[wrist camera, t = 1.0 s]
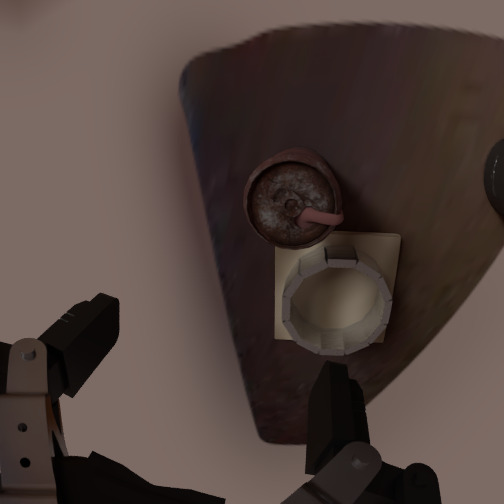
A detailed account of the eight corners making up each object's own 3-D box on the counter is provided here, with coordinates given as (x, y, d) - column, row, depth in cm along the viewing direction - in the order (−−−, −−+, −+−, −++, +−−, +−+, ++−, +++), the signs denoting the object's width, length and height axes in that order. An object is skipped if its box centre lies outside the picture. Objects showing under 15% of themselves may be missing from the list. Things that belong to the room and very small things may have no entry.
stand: (398, 233, 32) (400, 237, 31) (381, 336, 36) (382, 342, 35) (276, 228, 34) (275, 232, 33) (275, 333, 38) (274, 338, 37)
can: (328, 210, 32) (339, 262, 19) (266, 202, 33) (236, 248, 20) (335, 151, 30) (354, 162, 17) (272, 143, 31) (243, 149, 18)
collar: (389, 247, 31) (399, 261, 27) (375, 334, 35) (381, 355, 31) (286, 242, 33) (282, 257, 29) (284, 331, 37) (280, 352, 33)
